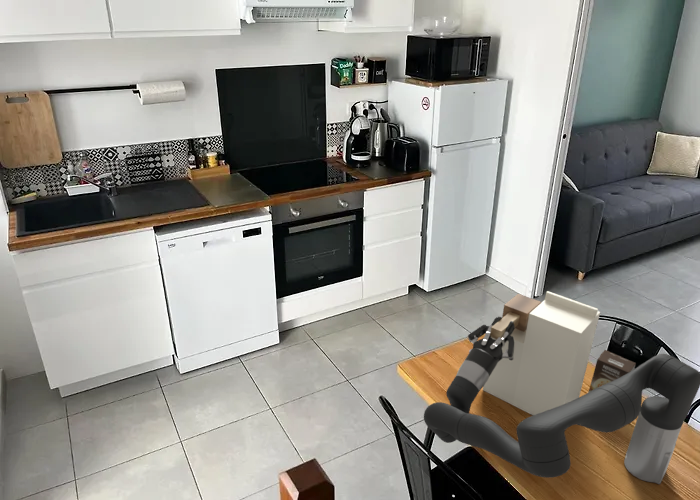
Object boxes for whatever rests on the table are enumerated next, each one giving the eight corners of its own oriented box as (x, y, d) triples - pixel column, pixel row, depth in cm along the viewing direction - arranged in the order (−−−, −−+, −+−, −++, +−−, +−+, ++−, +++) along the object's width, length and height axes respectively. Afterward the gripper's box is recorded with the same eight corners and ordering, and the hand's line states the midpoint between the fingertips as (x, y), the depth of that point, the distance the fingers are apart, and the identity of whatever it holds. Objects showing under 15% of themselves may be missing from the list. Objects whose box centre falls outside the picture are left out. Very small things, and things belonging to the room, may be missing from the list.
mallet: (537, 319, 158) (540, 301, 156) (505, 348, 145) (509, 329, 142) (515, 310, 163) (518, 293, 160) (482, 338, 149) (485, 319, 146)
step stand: (577, 403, 161) (602, 304, 146) (558, 428, 152) (583, 325, 137) (504, 368, 175) (519, 275, 161) (482, 390, 166) (497, 293, 151)
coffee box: (584, 402, 162) (595, 358, 155) (592, 391, 166) (603, 348, 159) (616, 417, 156) (629, 372, 149) (623, 406, 160) (636, 362, 153)
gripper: (498, 375, 136) (529, 322, 142) (450, 352, 144) (482, 303, 151) (501, 388, 141) (531, 337, 148) (455, 365, 149) (485, 318, 156)
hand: (506, 320), depth 149 cm, fingers closed on mallet, 3 cm apart
